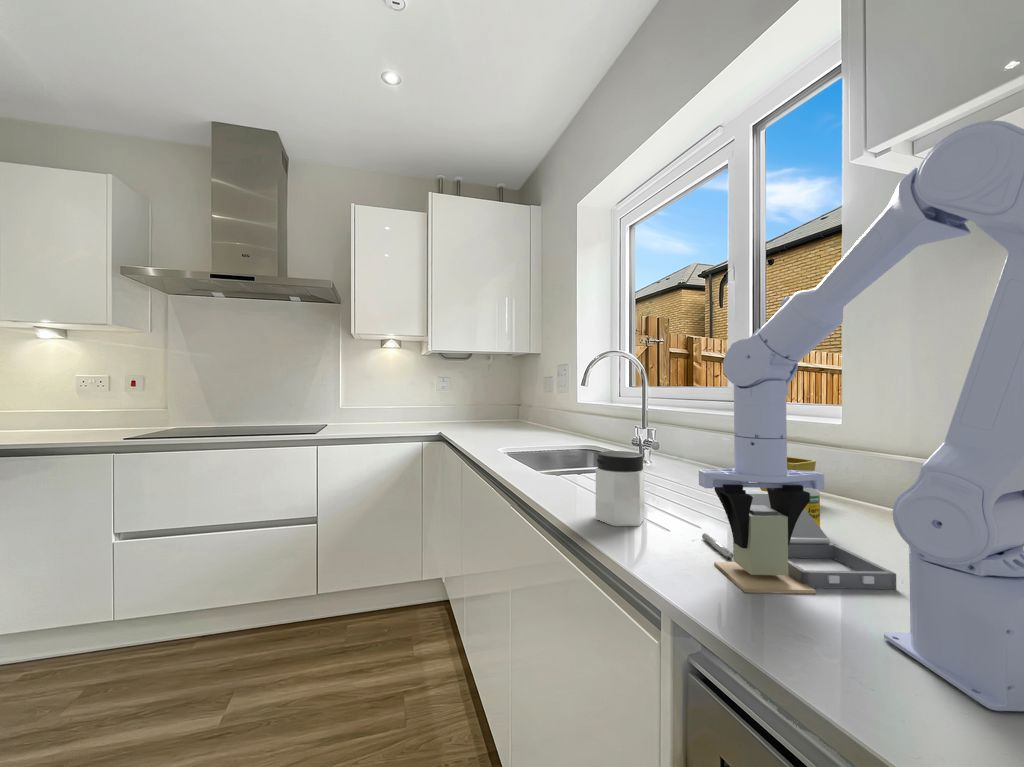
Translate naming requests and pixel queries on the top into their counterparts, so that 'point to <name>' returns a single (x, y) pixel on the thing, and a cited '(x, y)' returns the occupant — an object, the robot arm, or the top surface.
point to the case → (862, 578)
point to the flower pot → (798, 466)
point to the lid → (798, 525)
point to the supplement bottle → (813, 504)
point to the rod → (717, 546)
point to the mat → (762, 581)
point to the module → (764, 543)
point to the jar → (620, 488)
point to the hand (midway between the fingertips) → (760, 545)
